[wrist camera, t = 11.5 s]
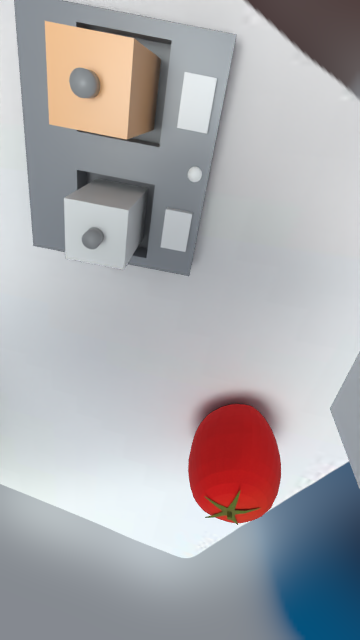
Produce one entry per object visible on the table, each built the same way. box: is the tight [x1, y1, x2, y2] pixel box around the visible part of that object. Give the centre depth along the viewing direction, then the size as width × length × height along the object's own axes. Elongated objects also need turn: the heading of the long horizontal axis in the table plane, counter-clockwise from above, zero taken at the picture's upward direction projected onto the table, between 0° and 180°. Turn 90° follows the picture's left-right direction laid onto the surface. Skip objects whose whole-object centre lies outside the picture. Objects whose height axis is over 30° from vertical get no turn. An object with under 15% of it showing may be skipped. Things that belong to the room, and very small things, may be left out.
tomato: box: [188, 404, 281, 525], centre depth 43 cm, size 13×11×14 cm
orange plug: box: [45, 21, 161, 139], centre depth 24 cm, size 5×5×11 cm
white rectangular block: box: [64, 179, 148, 270], centre depth 30 cm, size 5×5×9 cm
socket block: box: [14, 0, 237, 276], centre depth 30 cm, size 16×19×4 cm
